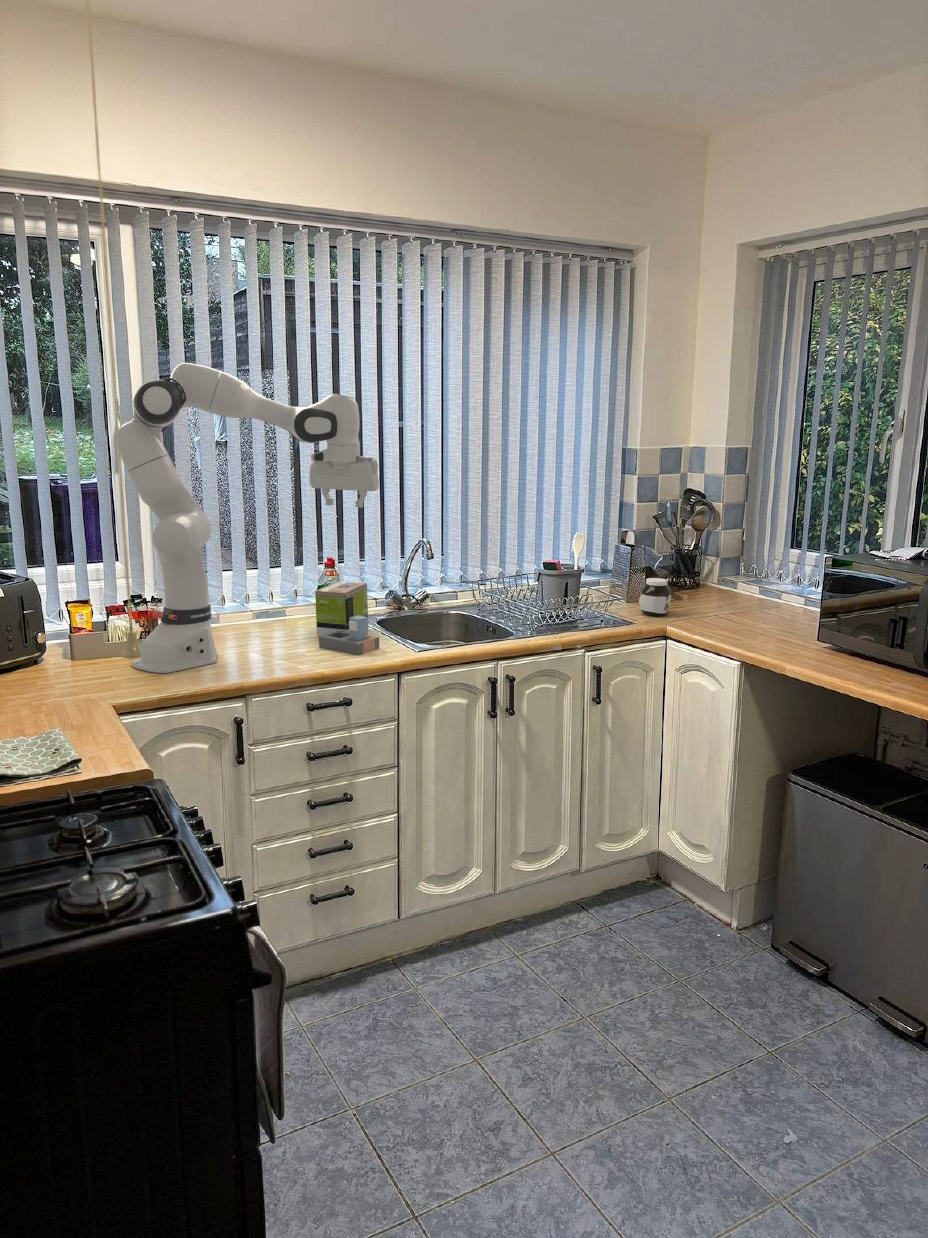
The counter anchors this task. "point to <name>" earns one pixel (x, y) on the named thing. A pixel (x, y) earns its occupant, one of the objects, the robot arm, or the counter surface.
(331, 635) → the socket block
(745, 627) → the counter surface
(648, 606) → the spread jar
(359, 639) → the plug peg
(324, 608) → the tea box
